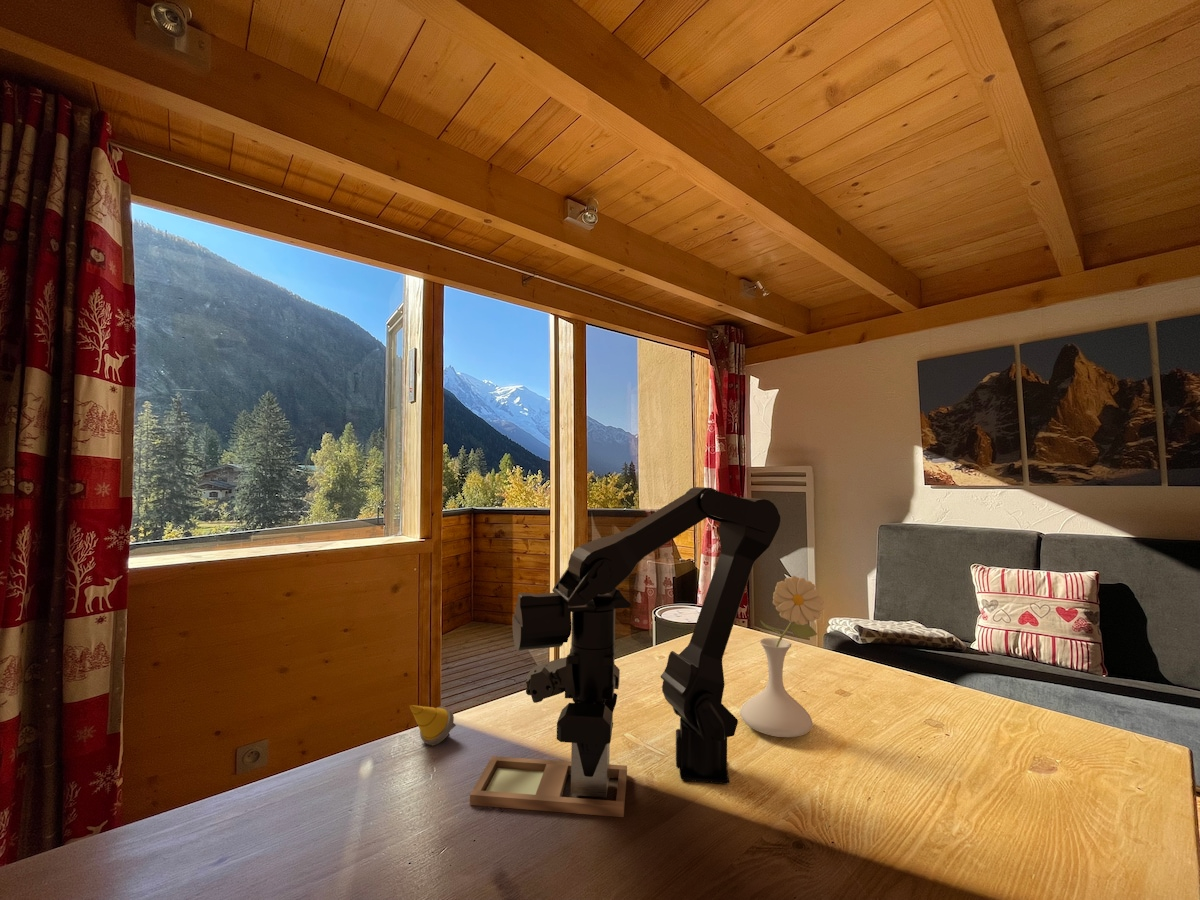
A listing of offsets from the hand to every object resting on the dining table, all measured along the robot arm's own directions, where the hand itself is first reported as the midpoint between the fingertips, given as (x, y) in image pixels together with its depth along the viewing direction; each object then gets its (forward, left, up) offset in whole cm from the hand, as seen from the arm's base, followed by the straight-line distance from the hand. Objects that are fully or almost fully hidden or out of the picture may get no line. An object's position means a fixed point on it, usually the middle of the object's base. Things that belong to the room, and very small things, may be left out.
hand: (590, 765), depth 67 cm
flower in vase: (-29, -21, -4) cm, 36 cm away
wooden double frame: (+5, 0, -3) cm, 6 cm away
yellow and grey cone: (+25, -9, -4) cm, 27 cm away
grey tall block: (0, 0, -2) cm, 2 cm away
